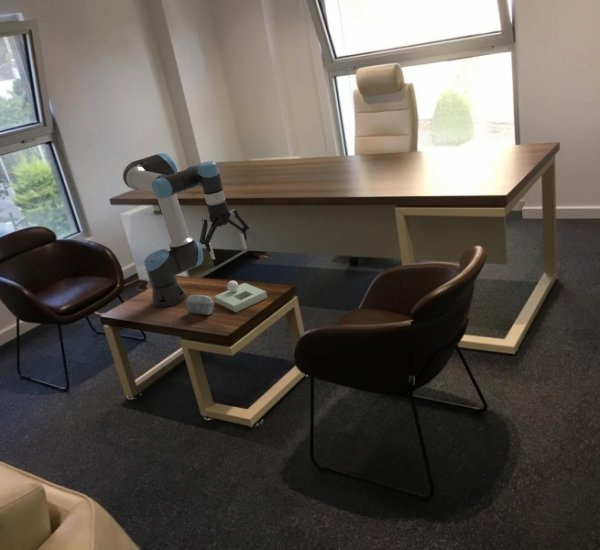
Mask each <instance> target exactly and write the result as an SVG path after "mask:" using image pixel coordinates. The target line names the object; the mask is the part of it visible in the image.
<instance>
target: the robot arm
mask: <svg viewBox="0 0 600 550" xmlns="http://www.w3.org/2000/svg"><path fill="white" fill-rule="evenodd" d="M122 178H123V179H122V180H123V183H124V184H125V185H126V186H127V187H128V188H129V189H132V190H136V191H138V190H145V191H150V192H153V194H154V196H155V197H156V199H157V201H158V205H159V208H160V211H161V214H162V217H163V221H164V223H165V227H166V229H167V233H168V235H169V240H170V242H169V245H168V246H169V250H168V249H166V248H164V249H163V248H161V249H159V250H155V251H154V252H151V253H150V254H148V255H147V256H146V257H145V258H144V261H143V262H144V267H145V271H146V273H147V277H148V279H149V282H150V286H151V289H152V290H151V291H152V293H151V302H152V304H153V307H154V308H160V309H161V308H162V309H163V308H168V307H172V306H175V305H177V304H179V303H181V302H182V301H184V300H185V298H186V294H185V293H186V292H185V291H184V289H183V287H182V286H181V285H180V284H179V282H178V280H177V277H176V276H177V275H180V274H182V273H185V272H188V271H190V270H193V269H195V268H196V267H198V266H200V265H202V264H203V261H204V252H203V248H202V246H201V245H205V249H206V251H207V252H208V253H209V255H210V258H211V260H216V257H215V254H214V253H215V252H214V249H213V246H212V243H211V240H212V237H213V235H214V233H215V231H216V230H217V228H218V227H221V226H222V227H223V226H225V225H227V224H228V223H229V224H230V225H231V226H233V227H234V228H236V229H237V230H239V237H240V242H241V245H242V248H243V249H245V250H246V249H247V248H248V246H247V243H246V240H247V239H248V238H247V231H248V230H250V227H249V225H248V224H246V222H245V221H244V220H243V218H242V217H241V216H240V215H239V213H238V211H237V209H235V208H233V209H231V210H229V208H228V204H227V201H226V196H225V192H224V188H223V183H222V178H221V175H220V169H219V168H218V164H217V162H216V161H211V160H210V161H204V162H200V163H199V164H197V165H190V166H188V167H187V168H186V169H184V170H180V171H178V167H177V165H176V163H175V161H174V159H173V157H172V156H170V155H169V154H168V153H166V152H165V153H164V152H162V153H157V154H156V153H155V154H153V155H150V156H147V157H143V158H141V159H137V160H134V161H131V162H130V163H129V164H127V165H126V167H125V168H124V170H123V172H122ZM197 187H201V188H202V192H203V195H204V199H205V203H206V204H207V206H206V207H207V210H208V214H209V217H207V218H205V217H204V218H203V217H202V228H201V232H200V238H199V242H198V241H197V240H195V239H194V237H192V236H190V235H189V230H188V228H187V225H186V221H185V218H184V215H183V212H182V208H181V205H180V202H179V200H178V199H179V198H178V195H177V194H179V193H183V192H186V191H189V190H191V189H194V188H197ZM231 216H232V217H233V216H234V218H235V219H236V220H237V221H238V223H240V225H241V226H242V227H241V226H240V225H238V224H237V223H235V222H234V221H233V220H231V219H230V218H231ZM210 222H211V225H210V228H209V231H208V226H209V224H210Z"/></svg>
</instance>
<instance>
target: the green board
mask: <svg viewBox="0 0 600 550" xmlns="http://www.w3.org/2000/svg"><path fill="white" fill-rule="evenodd" d="M238 286H239V287H238V290H237V291H235V292H231V291H229V290H228V289H227V290H225V291H223V292H221V293H219V294H216V295H214V300H215V303H217V304H218V305H220V306H223V307H224V308H227V309H228V310H230V311H233V312H234V313H238V312H240V311H242V310H244V309H246V308H249V307H250V306H253V305H254V304H257V303H259V302H261V301H264V300H265V299H268V293H267V291H266V290H263V289H261V288H259V287H256V286H254V285H251V284H249V283H246V282H243V283H240V284H238Z"/></svg>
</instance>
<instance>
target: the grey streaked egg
mask: <svg viewBox="0 0 600 550" xmlns="http://www.w3.org/2000/svg"><path fill="white" fill-rule="evenodd" d="M214 308H215V302H214V300H213V298H212V297H210V296H209V295H208V296H207V295H203V294H191V295H188V296H187V298H186V300H185V310H186V311H187V312H188V313H189V314H198V315H203V316H204V315H205V316H210V315H211V314H212V313H213V312H214Z"/></svg>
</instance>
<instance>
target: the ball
mask: <svg viewBox="0 0 600 550" xmlns="http://www.w3.org/2000/svg"><path fill="white" fill-rule="evenodd" d="M238 287H239V283H238V281H236V280H230V281H229V282H227V284H226V288H227V290H229V291H231V292H235V291H237V290H238Z"/></svg>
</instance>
